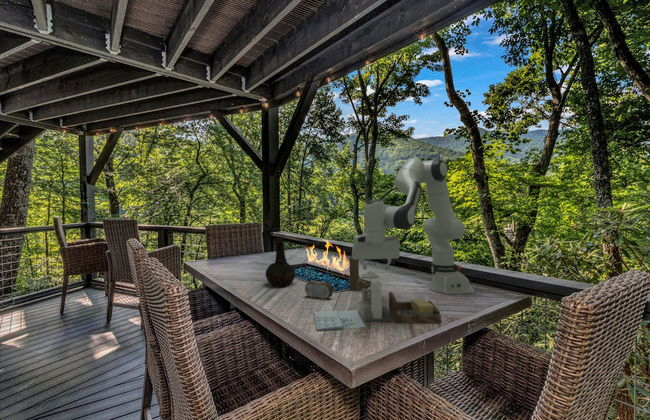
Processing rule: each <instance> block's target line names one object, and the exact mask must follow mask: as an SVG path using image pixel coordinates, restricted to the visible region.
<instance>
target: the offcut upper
mask: <svg viewBox="0 0 650 420" xmlns="http://www.w3.org/2000/svg"><path fill="white" fill-rule="evenodd" d="M428 301H429V300H426V299H425V298H419V299H417V298H416V299H410V302H411V307H412V308H413V309H415V310H416V311H417V312H418V313H419V314H425V313H434V311H433V305H432V304H430V303H429V302H428Z"/></svg>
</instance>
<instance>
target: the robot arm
mask: <svg viewBox="0 0 650 420" xmlns="http://www.w3.org/2000/svg"><path fill="white" fill-rule="evenodd" d="M447 176H448V165H447V163H446V162H445V161H444V160H443V159H437V158H436V159H434V160H433V159H432V160H430V159H429V160H424V161H422V160H421V159H420V158H417V157H411V158H409V159H407V160H406V162H404V164H403V165H402V166H401V167H400V169H399V170H398V172H397V174H396V176H395V178H394V185H395V187H396V189H397V190H398V191H399V192H400V193H402V194H404V195H406V196H407V197H406V200H405V202H404V204H402V205H399V206H398V205H397V206H396V205H394V206H393V205H391V206H390V205H389V206H388V205H387V204H385V203H384V201H383V199H381V198H374V199H369V200H367V201H366V202H365V205H364V208H363V221H364V230H363V231H364V233H361V234H357V235H356V236H355V235H354V242H353V244H352V248H351V249H352V250H351V257H352V258H353V259H359V261H360V264H361V266H362V269H363V271H364V270H365V271H366V270H367V269H368V268H367V267H368V266H367V264H365V263H364V262H365V261H364V260H387V262H386V263H385V264H384V270H389V269H390V265H391V263H392V259H395V260H396V259H397V260H398V259H399V258H400V256H401V254H400V245H401V242H400V239H399V238H398V237H397V236H386V228H387V229H397V230H398V229H399V230H404V231H406V230H409V229H410V228H411V227H412V226H414V224H415V220H416V214H417V209H418V207H419V206H418V205H419V201H420V198H421V193H422V186H421V184H425V189H426V190H425V191H426V198H427V203H428V208H429V211H431V212H432V213H433V215H434V217H431V218H426V220H424V222H423V226H422V228H423V231H424V233H425V234H426V235H427V237H428V239H429V242H430V246H431V251H432V254H431V255H432V262H431V281H430V286H429V290H431V291H433V292H436V293H442V294H445V295H462V294H463V295H464V294H474V293H476V292H475V289H474V287H472V286H471V284H470V283H471V282H470V280H469V279H468V277H466V276H465V275H464V274H463V273H461V272H460V271H461V270H462V266H460V265H457V264H456V263H455V250H454V248H453V246H452V245H451V244H450V242H449V240H458V239H461V238H462V237H463V236H464V234H465V232H466V228H465V224H464V223H463V222H462V220H460V219H459V218H458V217H457V215H456V214H455V211H454V210H453V207H452V204H451V199H450V193H449V187H448V183H447V180H446V178H447Z"/></svg>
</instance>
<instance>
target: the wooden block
mask: <svg viewBox="0 0 650 420" xmlns="http://www.w3.org/2000/svg"><path fill="white" fill-rule="evenodd" d="M348 261H349V262H348V263H349V264H348V265H349V290H350V291H353V292H355V291H357V292H362V291H361V290H362V287H363V288H364V285H363V283H365V282H368V281H366V280H365V279H364V280H363V281H362V278H361V277H360V273H359V272H360V271H359V270H360V269H359V266H360V265H359V261H360V259H353V258H352V256H350V257H349V260H348ZM360 278H361V279H360ZM358 280H360V281H358ZM357 281H358V282H359V285H358V283H357ZM357 285H358V288H357ZM359 287H360V288H359ZM358 289H359V290H358ZM360 289H361V290H360Z"/></svg>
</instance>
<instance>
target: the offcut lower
mask: <svg viewBox="0 0 650 420" xmlns="http://www.w3.org/2000/svg"><path fill="white" fill-rule="evenodd" d="M412 313H413V314H419V313H418V312H417V311H416V310H415V309H413V310H412ZM425 314H432V315H433V313H425Z"/></svg>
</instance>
